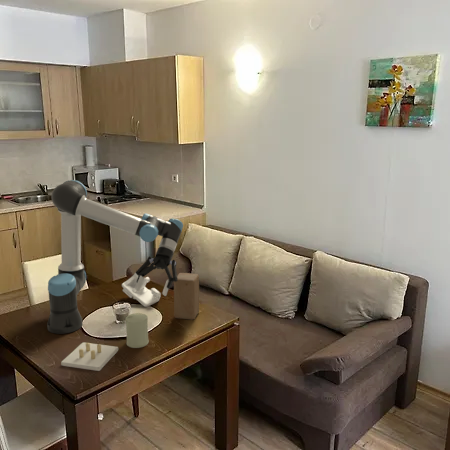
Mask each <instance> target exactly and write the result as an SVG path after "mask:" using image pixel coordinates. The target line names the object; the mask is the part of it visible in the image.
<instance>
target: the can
mask: <svg viewBox="0 0 450 450" xmlns="http://www.w3.org/2000/svg"><path fill="white" fill-rule="evenodd" d="M148 323H149V322H148V315H147V314H145V313H140V312H136V313H135V312H134V313H130V314H128V315H127V316H126V317H125V327H126V328H125V330H126V346H127V347H129V348H132V349H140V348H143V347H145V346H147V345H148V344H149V341H150V340H149V328H148V327H149V326H148Z"/></svg>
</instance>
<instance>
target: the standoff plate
mask: <svg viewBox="0 0 450 450" xmlns="http://www.w3.org/2000/svg"><path fill="white" fill-rule="evenodd" d="M118 351H119V346H113V345H105V344H100V343H99V344H98V343H90V342H84V341H83V342H82V343H80V344H79V345H78V346H77V347H76V348H75V349H74V350H73V351H72V352H71V353H69V354H68V355H67V356H66V357H65V358H64V359H63V360H61V363H60V364H61V366H63V367H68V368H69V367H70V368H76V369H82V370H88V371H89V370H91V371H96V372H99V371H102V369H103V368H104V366H106V364H108V362H109V361H110V360H111V359H112V358H113V357H114V356H115V354H117V353H118Z"/></svg>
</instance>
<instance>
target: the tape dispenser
mask: <svg viewBox="0 0 450 450" xmlns="http://www.w3.org/2000/svg"><path fill="white" fill-rule="evenodd" d="M143 278H144V280H143V283H142V285H141V288H140V290H139V292H138V291H137V290H136V289H135V288H136V285H137V279H138V275H137V274H136V271H135V272H134V274H133V275H132V276H131V277H129V278H128V279H127V280H126V281H124V282H123V283H121V287H122V288H123V289H122V292H123V293H124V294H126V295H127V296H128V298H130V299H133V300H136V301H138V302H139V303H140V304H141V305H142V306H143V307H145V308H148V307H150V306H151V305H154V304H156V303H157V302H159V301H160V299H161V296H162V293H161V292H160V291H159V290H158V289H156V288H155V287H152V288H150V289H148V287H146V285H147V283H150V281H151V278H150V277H149V276H146V277H143Z"/></svg>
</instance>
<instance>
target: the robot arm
mask: <svg viewBox="0 0 450 450" xmlns="http://www.w3.org/2000/svg"><path fill="white" fill-rule="evenodd" d="M87 195H88V191H87V187H86V186H85V185H84V184H83V183H82V182H81V181H79V180H76V179H71V180H66V181H64V182H63V183H61V184H59V185H57V186H55V188H54V189H53V190H52V192H51V202H52V203H53V205H54V206H55V208H56V209H57V211H58V213H60V214H61V216H60V217H61V219H60V220H61V222H60V223H61V225H60V226H61V230H60V231H61V234H60V235H61V241H60V242H61V263H60V264H59V265H58V268H57V269H58V271H57V272H58V274H55V275H54V276H52V277H50V279H49V280H48V282H47V291H48V301H49V311H50V313H49V317H48V321H47V324H46V325H47V326H46V327H47V331H48V332H50V333H52V334H55V335H59V334H60V335H62V334H63V335H65V334H70V333H73V332H76V331H78V330H79V329H81V328H82V327H83V326H84V325H83V323H84V322H83V318H82V316H81V314H80V311H79V309H78V297H77V296H78V294H79V293H80V291H81V290H82V289H83V288H84V287H85V284H86V282H87V273H86V270H85V266H84V264H83V263H82V262H81V261H82V255H81V253H82V252H81V251H82V246H81V245H82V217H85V218H87V219H91V220H92V221H93V220H94V221H96V222H98V223H100V224H104V225H106V226H107V225H108V226H110V227H112V228H114V229H117V230H120V231H124V232H126V233H129V234H132V235H134V236H137V237H139V238H140V239H141V240H142V241H143V242H145V243H151V242H153V241H155V240H156V238H157V237H158V236H159V237H161V240H160V243H159V245H158V248H157V250H156V253H155V257H154V258H152V256H148V257H147V259H146V261H145V262H144V263H143V264H142V265H141V266H140V267H138V269H137V270H136V271H135V272H136V274H137V275H138V279H137V285H136V288H135V289H136V290H137V291H138V292H139V290H140V288H141V285H142V283H143V280H144V278H145V276H147V275H148V274H149V273H151V272H153V270H156V269H157V270H164V271H165V273H166V276H167V278H168V279H166V281H165V284H164V287H163V290H162V292H161V295H163V296H164V297H167V295H168V292H169V289H171V288H172V285H173V284H174V281H176V282H177V281H178V279H177V275H178V274H177V273H178V272H177V264H178V263H177V261H176V260H175V259H173V257H174V253H175V251H176V248H177V245H178V243H179V240H180V237H181V235H182V231H183V228H184V224H183V222H182V221H181V220H180V219H178V218H173V217H172V218H169V219H168V220H165V219H162V218H159V217H157V216H154V215H152V214H149V213H143V215H142V217H141V218H140V217H137V216H134V215H131V214H129V213H127V212H124V211H121V210H119V209H116V208H113V207H110V206H108V205H105V204H103V203H100V202H97V201H95V200H92V199H89V198H87ZM170 265H171V271H172V274H171V271H170V268H169V266H170Z"/></svg>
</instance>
